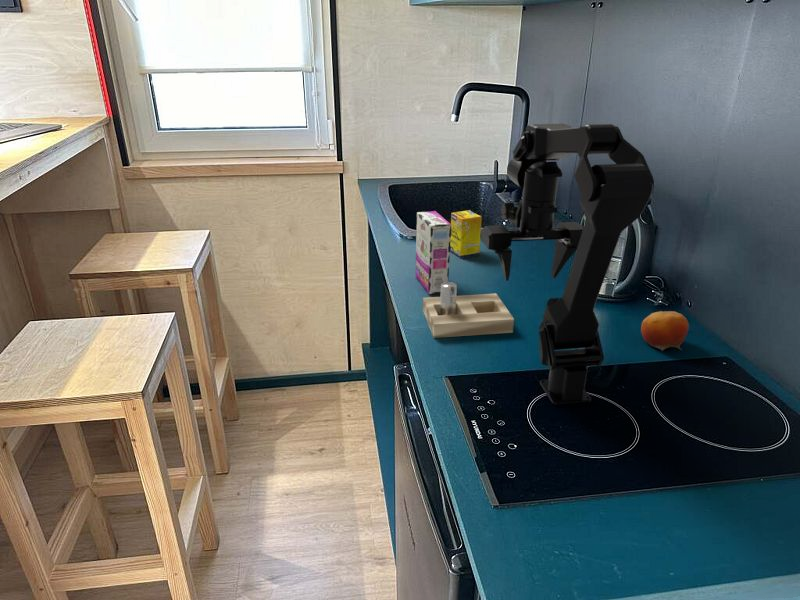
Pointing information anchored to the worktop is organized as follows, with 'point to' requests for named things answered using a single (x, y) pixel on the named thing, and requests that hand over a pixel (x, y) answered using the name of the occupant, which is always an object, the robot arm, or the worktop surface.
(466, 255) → the supplement box
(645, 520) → the worktop surface
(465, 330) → the socket block
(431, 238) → the candy bar box
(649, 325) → the fruit
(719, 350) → the worktop surface
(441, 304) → the pin
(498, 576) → the worktop surface
